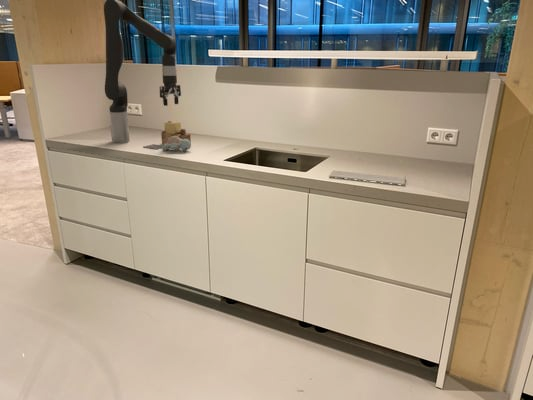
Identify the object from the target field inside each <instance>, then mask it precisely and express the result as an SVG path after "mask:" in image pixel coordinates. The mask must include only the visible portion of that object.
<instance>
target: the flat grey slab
mask: <svg viewBox="0 0 533 400" xmlns="http://www.w3.org/2000/svg"><path fill="white" fill-rule="evenodd" d="M329 177H337V178H347V179H357V180H366V181H376V182H383V183H392V184H401V185H404V186H405V182H406V174H405V177H400V176H392V175H391V176H389V175H381V174H373V173H371V174H370V173H360V172H351V171H343V170H342V171H341V170H332V171H331V172H330V174H329V175H328V178H329ZM337 178H336V179H337Z"/></svg>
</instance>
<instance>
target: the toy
mask: <svg viewBox="0 0 533 400" xmlns="http://www.w3.org/2000/svg"><path fill="white" fill-rule="evenodd" d="M191 148H192V142H191V143H190V141H189V140H188V139H181V138H179V137H177V136H172V137H170V138H168V139H167V142H166V144H163V145H162V148H161V149H162V151H167V150H171V151H172V150H179V149H180V150H182V151H183V152H186V151H189V150H190V149H191Z"/></svg>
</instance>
